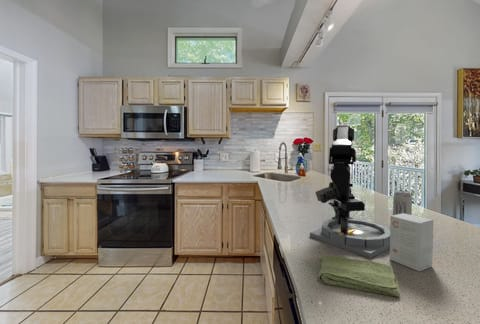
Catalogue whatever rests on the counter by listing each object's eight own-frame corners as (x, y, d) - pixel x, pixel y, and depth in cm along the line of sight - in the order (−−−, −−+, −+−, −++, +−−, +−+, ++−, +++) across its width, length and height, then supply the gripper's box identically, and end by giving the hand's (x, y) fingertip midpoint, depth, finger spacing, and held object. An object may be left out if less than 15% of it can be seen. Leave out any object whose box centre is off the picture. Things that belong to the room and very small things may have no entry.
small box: (432, 266, 66) (434, 219, 66) (419, 272, 64) (420, 223, 63) (401, 255, 74) (403, 212, 73) (388, 259, 71) (389, 215, 70)
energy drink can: (390, 230, 95) (392, 192, 94) (394, 226, 100) (395, 189, 99) (409, 233, 91) (410, 194, 90) (412, 229, 96) (413, 191, 95)
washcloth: (403, 302, 52) (403, 287, 52) (317, 285, 59) (317, 272, 59) (391, 272, 64) (391, 260, 64) (320, 261, 71) (321, 250, 71)
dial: (345, 223, 99) (345, 205, 98) (390, 235, 85) (390, 214, 85) (320, 233, 88) (321, 212, 88) (367, 247, 75) (368, 224, 75)
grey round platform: (343, 224, 102) (344, 214, 102) (402, 240, 84) (403, 228, 84) (309, 236, 90) (309, 224, 89) (370, 258, 72) (370, 244, 71)
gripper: (307, 177, 92) (307, 217, 94) (332, 185, 74) (331, 235, 75) (335, 176, 94) (334, 216, 95) (366, 184, 75) (365, 233, 76)
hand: (340, 224), depth 85 cm, fingers closed
